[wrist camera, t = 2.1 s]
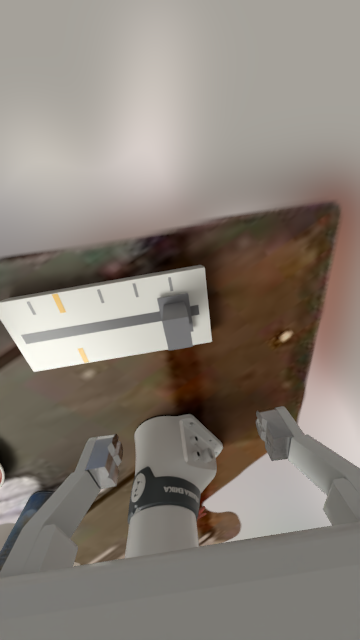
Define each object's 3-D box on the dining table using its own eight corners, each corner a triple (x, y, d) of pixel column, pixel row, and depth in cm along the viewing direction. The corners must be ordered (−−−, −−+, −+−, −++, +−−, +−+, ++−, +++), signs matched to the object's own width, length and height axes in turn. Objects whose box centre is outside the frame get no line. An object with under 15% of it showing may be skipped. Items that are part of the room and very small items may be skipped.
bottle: (58, 488, 49) (-82, 802, 21) (70, 505, 53) (-34, 787, 26) (24, 492, 49) (-162, 814, 21) (38, 509, 53) (-102, 797, 25)
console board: (201, 264, 27) (204, 267, 24) (208, 333, 32) (211, 341, 29) (8, 297, 27) (-10, 304, 24) (45, 360, 32) (33, 371, 29)
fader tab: (187, 292, 25) (193, 307, 19) (193, 329, 27) (199, 352, 22) (157, 297, 25) (154, 314, 19) (165, 334, 27) (164, 358, 22)
